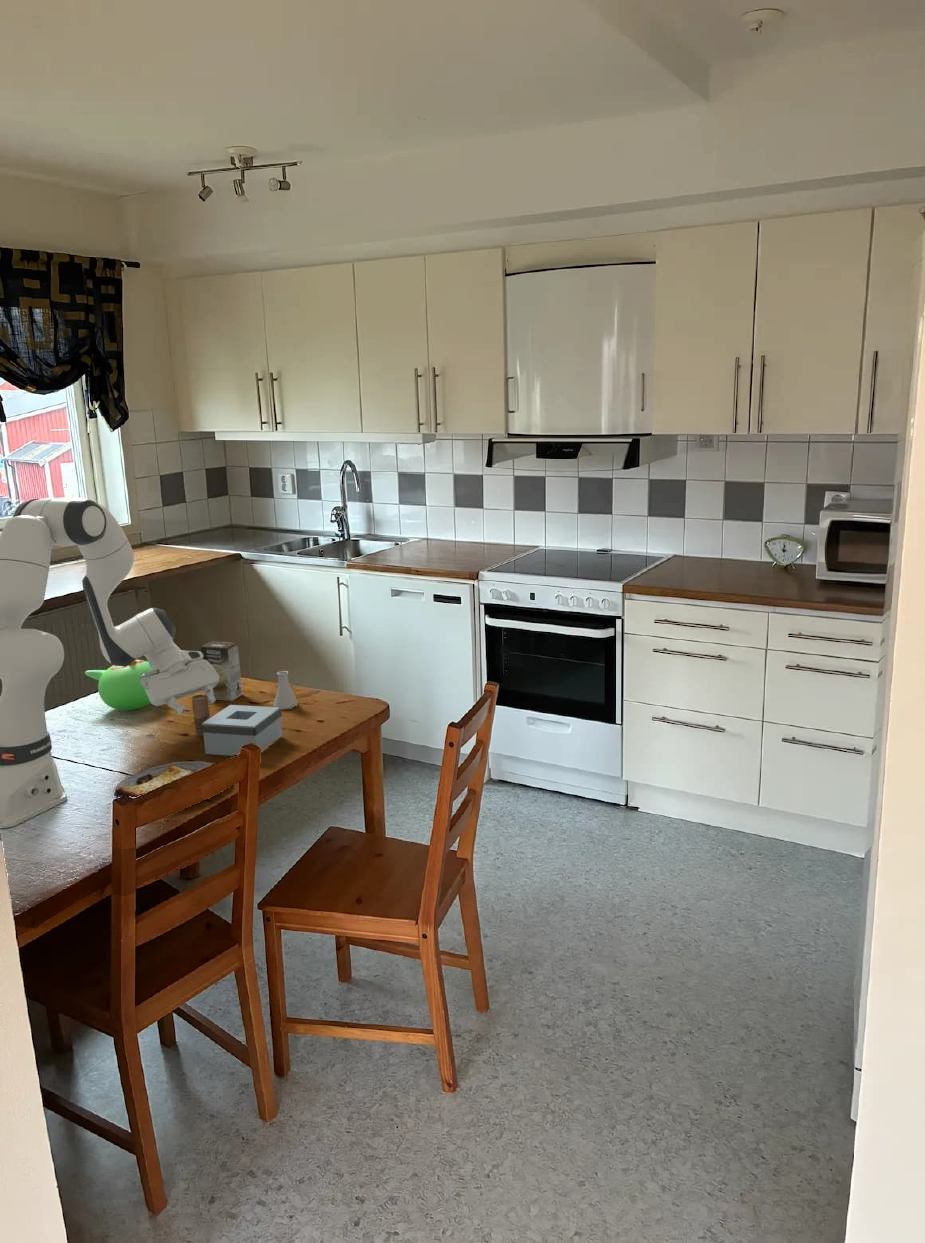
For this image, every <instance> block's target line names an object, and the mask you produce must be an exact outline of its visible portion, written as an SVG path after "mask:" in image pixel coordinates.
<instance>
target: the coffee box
mask: <svg viewBox="0 0 925 1243" xmlns="http://www.w3.org/2000/svg"><path fill="white" fill-rule="evenodd" d="M200 652H201V653H202V654H203V659H204V660H207V661H208V662H209V663H210V664H211V665H212V666H213V668H214V669H215V670H216V672H217V673H218V675H219V682H218V684H217V685H216V686H215V687H214V688H213V696H214V697H215V699H216V700H217V701H224V702H225V701H227V702H233V701H235V700H236V699H237V698H239V697H241V696H243V690H242V689H243V686H242V679H241V678H242V677H241V666H240V664H241V663H240V653H239V643H238V642H229V641H217V640H211V641H209V642H207V643H205V644H203V645H200ZM204 693H205V692H204ZM204 695H207V696H208V694H207V693H205V694H204ZM216 700H215V701H216Z"/></svg>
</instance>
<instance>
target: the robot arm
mask: <svg viewBox="0 0 925 1243" xmlns="http://www.w3.org/2000/svg"><path fill="white" fill-rule="evenodd" d="M54 546H55V547H56V546H57V547H71V546H77V547H78V549H79V551H80V553H81V555H82V557H83V559H84V561H85V566H86V572H85V575H84V577H83V579H82V580H81V582H82V589H83V594H84V597H85V599H86V600H85V601H86V604H87V607H88V609H89V612H90V615H91V618H92V621H93V625H94V626H95V629H96V632H97V637H98V641H99V647H100V650H101V653H102V655H103V657H104V659H105V660H106V661H107V662H108V663H109V664H110V665H111V666H113V665H115V666H123V667H126V666H127V665H129V664H130V663H132V662H133V661H135V660H138V659H139V658H140V657H142V656H143V657H145V658H146V661H147V662H148V663H149V665H150V667H151V668H152V670H153V671H152V672H150V673H145V674H143V675H142V677H141V678H140V683H141V685H142V686H143V687H144V688H145V691H146V694H147V696H148V698H149V700H150V702H151V703H150V704H152V705H153V706H154V707H160V706H162V705H165V704H167V706H168V707H170V708H171V709H173V710H175V711H176V713H177V714H178V715H179V716H181V715H183V714H185V713H186V712H187V708H186V707H185V705H184V704H181V705H180V704H179V703H178V702H177V700H180V699H183V698H186V697H189V696H192V695H195V694H198V693H203V692H204V693H207V694H208V704H209V705H211V704H214V703H215V702H216V699H215V697H214V696H213V688H214V687H215V686H216V685H217V684H218V682H219V675H218V673H217V672H216V670H215V669H214V668H213V666H212V665H211V664H210V663H209V662H208V661H207V660H204V659H203V654H202V653H201V650H200V651H199V650H184V649H181V648H180V647H179V646H178V645H177V644H175V642H174V639H175V636H176V631H177V629H176V625H174V623H173V622H172V621H171V619H170V618H169V617H168V616H167V613H166V611H165V610H164V609H160V608H159V607H158V608H157V607H150V608H148V609H145V610H144V611H142V612H139V613H137V614H136V615H134V616H133V617H131V618H129V619H128V620H126V621H124V622H122V623H121V624H119V625H116V626H114V623H113V620H112V618H111V617H112V616H111V613H110V611H109V608H108V601H109V599H110V596H111V594H112V593H113V592H114V591H115V589H116V588H117V587H118V586H119V585H120V584H121V583H122V582H123V581H124V579H125V578H127V576H128V575H129V574H130V572H131V570H132V567H133V565H134V560H135V554H134V551H133V548H132V545H131V544H130V541H129V539H128V538H127V535H126V533H125V532H124V529H123V528H122V527H121V525H120V524H119V522H118V521H117V519H116V518H115V517H114V515H113V513H111V512H110V511H109V509H108V508H107V507H106V506H105V505H102V504H101V503H97V502H95V501H93V500H91V499H89V498H86V497H85V498H84V497H75V498H74V497H73V498H72V497H60V496H54V497H53V496H52V497H44V498H33V499H29V500H26V501H24V502H22V503H20V504H19V505H18V506H17V507H16V509H15V511H14V513H13V515H12V517H10V518H9V519H8V520H7V521H6V522H5V524H4V526H3V529H2V531H1V534H0V680H1V684H2V688H1V694H0V829H6V828H13V827H15V826H17V825H19V824H21V823H23V822H25V821H27V820H30V819H32V818H35V817H36V816H38V815H40V814H42V813H44V812H46V811H48V810H50V809H52V808H54V807H56V806H58V805H60V804H62V803H64V802H65V801H67V800H68V796H67V793H65V788H64V786H63V785H62V781H61V779H60V778H61V777H60V775H59V771H58V767H57V764H56V761H55V760H54V757H53V755H52V751H51V750H52V749H53V745H52V744H53V743H52V739H51V735H50V732H48V727H47V721H46V720H47V719H46V712H45V711H46V709H45V695H46V690H47V687H48V685H49V682H50V681H51V679H52V678H53V677H54V676H55V675H56V674H57V673H58V672H59V671H60V670H61V668H62V666H63V663H64V660H65V650H64V649H65V648H64V646H63V643H62V642H61V639H59V638H58V637H57V635H55V634H52V633H49V632H46V631H43V630H39V629H35V628H22V625H23V623H24V622H25V620H26V619H27V618H28V617H29V616H30V615H31V614H33V613H34V612H35V611H37V610H39V609H40V608H41V607H42V605H43V604H44V601H45V597H46V591H47V587H48V586H47V585H48V578H49V572H50V566H51V565H50V564H51V556H52V549H53V548H54Z"/></svg>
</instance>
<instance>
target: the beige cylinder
mask: <svg viewBox="0 0 925 1243" xmlns="http://www.w3.org/2000/svg"><path fill="white" fill-rule="evenodd" d="M191 702H192V703H191V705H192V711H193V721H194V731H195V736H197V737H204V735H203V732H202V730H201V725H202V723H203V722H205V721H206V720H208V719H209V718H211V715H210V714H211V713H210V707H209V706H210V704H208V696H207V695H205V694H197V695H194V696H192V697H191Z"/></svg>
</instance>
